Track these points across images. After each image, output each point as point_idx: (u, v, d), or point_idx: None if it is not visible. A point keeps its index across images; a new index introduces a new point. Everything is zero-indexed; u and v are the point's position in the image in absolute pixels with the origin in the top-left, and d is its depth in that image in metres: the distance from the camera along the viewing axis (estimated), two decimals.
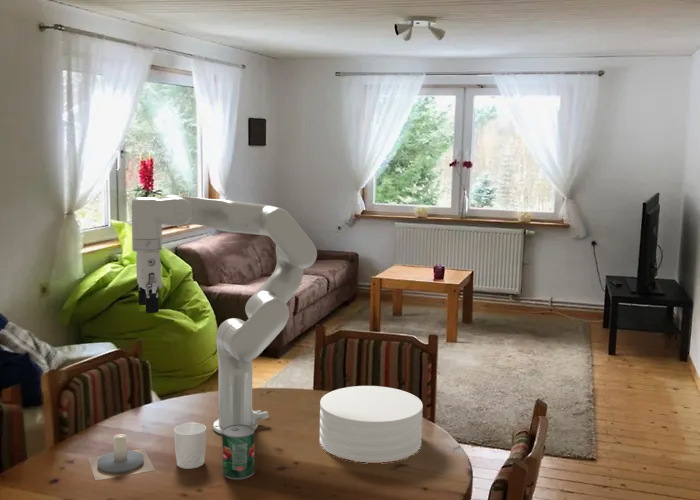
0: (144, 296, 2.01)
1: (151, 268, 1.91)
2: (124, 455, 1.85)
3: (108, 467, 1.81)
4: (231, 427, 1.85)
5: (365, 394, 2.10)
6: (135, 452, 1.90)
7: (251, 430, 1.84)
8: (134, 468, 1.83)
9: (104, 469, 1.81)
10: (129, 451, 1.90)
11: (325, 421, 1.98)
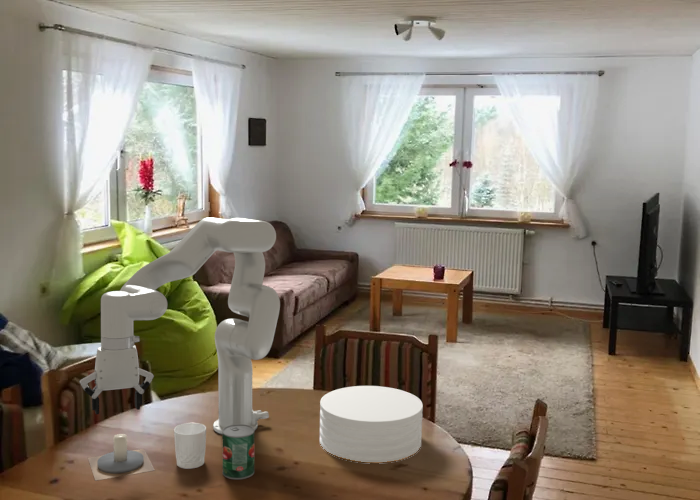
0: None
1: None
2: (124, 455, 1.85)
3: (108, 467, 1.81)
4: (231, 427, 1.85)
5: (365, 394, 2.10)
6: (135, 452, 1.90)
7: (251, 430, 1.84)
8: (134, 468, 1.83)
9: (104, 469, 1.81)
10: (129, 451, 1.90)
11: (325, 421, 1.98)
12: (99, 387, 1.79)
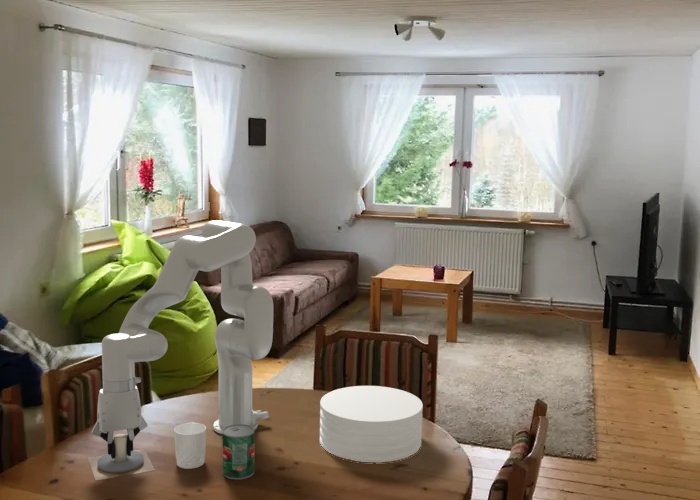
0: None
1: None
2: (124, 455, 1.85)
3: (108, 467, 1.81)
4: (231, 427, 1.85)
5: (365, 394, 2.10)
6: (135, 452, 1.90)
7: (251, 430, 1.84)
8: (134, 468, 1.83)
9: (104, 469, 1.81)
10: None
11: (325, 421, 1.98)
12: (102, 429, 1.81)
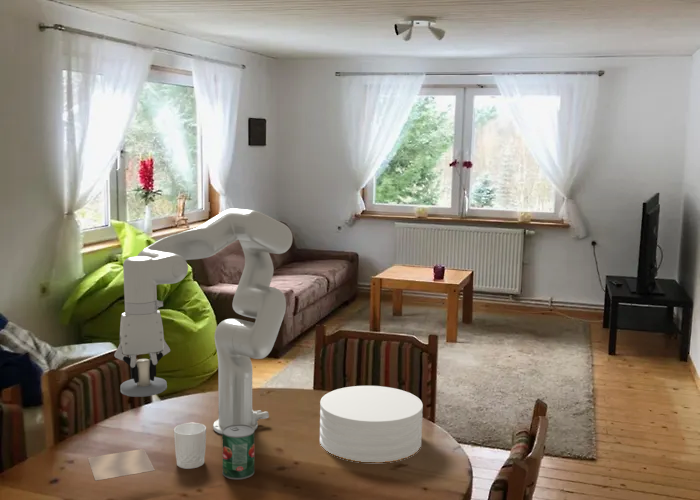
0: None
1: None
2: (147, 379, 1.83)
3: (131, 390, 1.79)
4: (231, 427, 1.85)
5: (365, 394, 2.10)
6: (158, 378, 1.88)
7: (251, 430, 1.84)
8: (157, 392, 1.80)
9: (127, 392, 1.79)
10: None
11: (325, 421, 1.98)
12: (124, 352, 1.79)
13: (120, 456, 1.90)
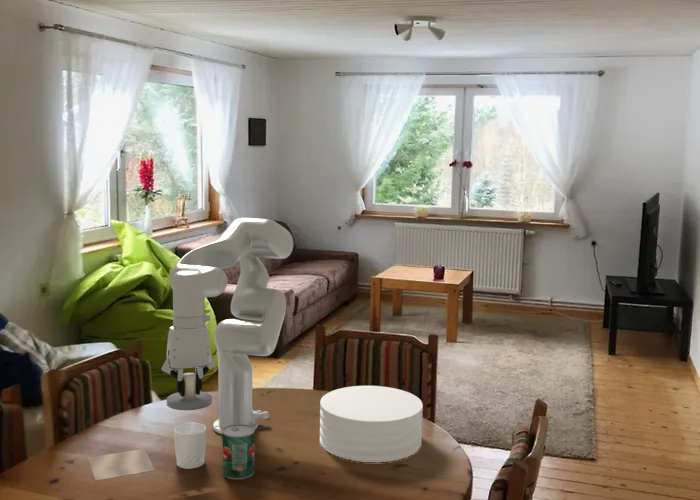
0: None
1: None
2: (194, 393, 1.84)
3: (179, 404, 1.80)
4: (231, 427, 1.85)
5: (365, 394, 2.10)
6: (202, 392, 1.89)
7: (251, 430, 1.84)
8: (204, 405, 1.82)
9: (174, 406, 1.80)
10: None
11: (325, 421, 1.98)
12: (172, 366, 1.80)
13: (120, 456, 1.90)
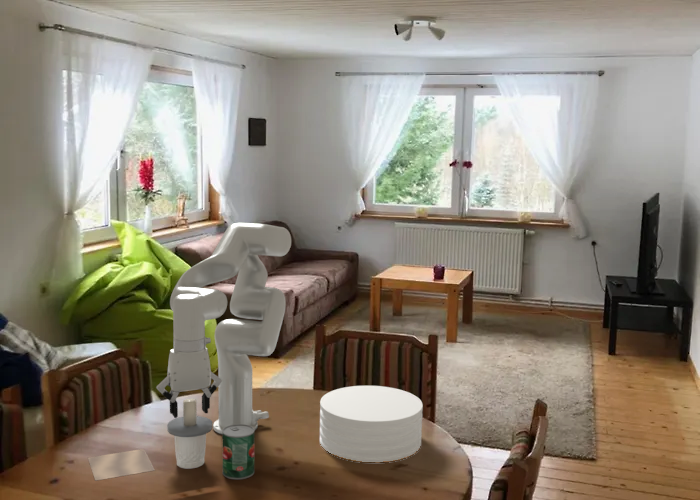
0: None
1: None
2: (194, 419, 1.85)
3: (179, 431, 1.81)
4: (231, 427, 1.85)
5: (365, 394, 2.10)
6: (203, 417, 1.90)
7: (251, 430, 1.84)
8: (205, 432, 1.83)
9: (175, 432, 1.81)
10: (196, 416, 1.91)
11: (325, 421, 1.98)
12: (173, 389, 1.81)
13: (120, 456, 1.90)
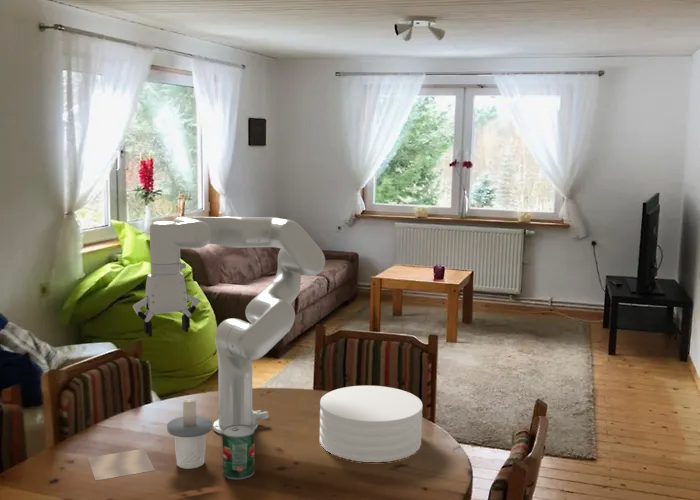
0: None
1: None
2: (194, 419, 1.85)
3: (179, 431, 1.81)
4: (231, 427, 1.85)
5: (365, 394, 2.10)
6: (202, 417, 1.90)
7: (251, 430, 1.84)
8: (205, 432, 1.83)
9: (175, 432, 1.81)
10: (196, 417, 1.91)
11: (325, 421, 1.98)
12: (151, 311, 1.91)
13: (120, 456, 1.90)
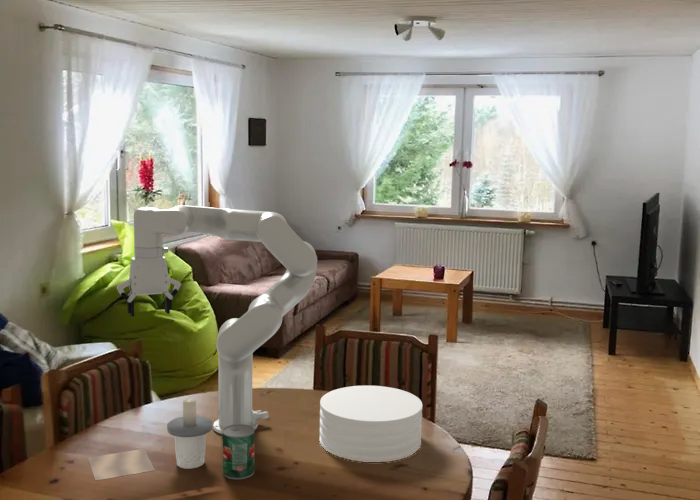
0: None
1: None
2: (194, 419, 1.85)
3: (179, 431, 1.81)
4: (231, 427, 1.85)
5: (365, 394, 2.11)
6: (202, 417, 1.90)
7: (251, 430, 1.84)
8: (205, 432, 1.83)
9: (175, 432, 1.81)
10: (196, 416, 1.91)
11: (325, 421, 1.98)
12: (134, 292, 2.01)
13: (120, 456, 1.90)
